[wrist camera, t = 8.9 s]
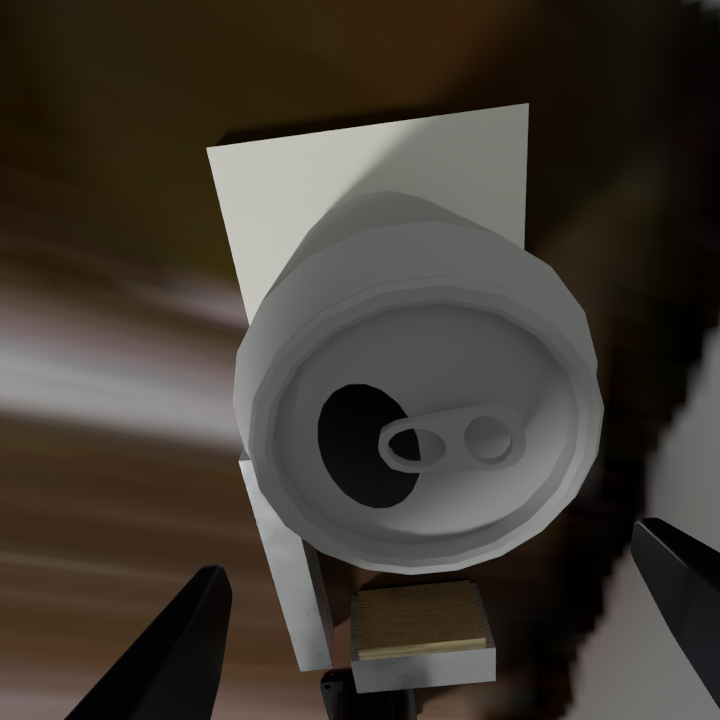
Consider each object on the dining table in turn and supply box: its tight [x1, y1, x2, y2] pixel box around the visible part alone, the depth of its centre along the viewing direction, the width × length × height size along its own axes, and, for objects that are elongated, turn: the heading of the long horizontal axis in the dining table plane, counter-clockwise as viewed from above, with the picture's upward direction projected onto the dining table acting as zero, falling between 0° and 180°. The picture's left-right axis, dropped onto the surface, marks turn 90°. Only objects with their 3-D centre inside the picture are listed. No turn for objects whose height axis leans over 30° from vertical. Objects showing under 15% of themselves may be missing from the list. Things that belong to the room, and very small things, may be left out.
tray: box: [207, 103, 529, 325], centre depth 19 cm, size 12×12×1 cm
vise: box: [239, 447, 496, 693], centre depth 23 cm, size 16×12×4 cm
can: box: [232, 191, 604, 575], centre depth 13 cm, size 8×8×12 cm
